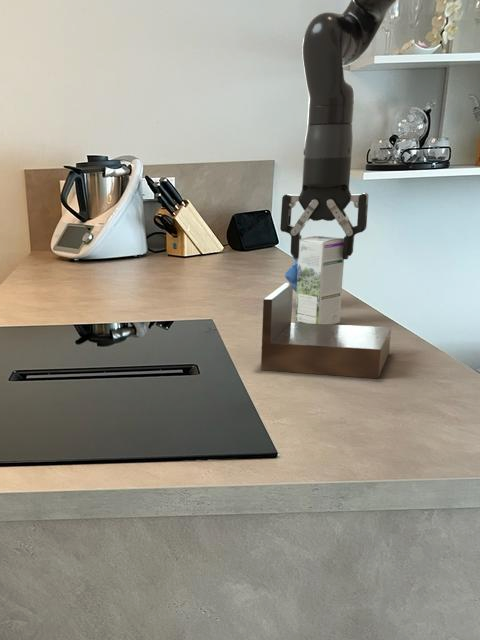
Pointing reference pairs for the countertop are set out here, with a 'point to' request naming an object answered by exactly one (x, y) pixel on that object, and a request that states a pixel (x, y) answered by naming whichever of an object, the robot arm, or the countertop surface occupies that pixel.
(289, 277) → the grapes
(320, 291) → the syrup box
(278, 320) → the metal l-shaped bookend
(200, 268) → the countertop surface
